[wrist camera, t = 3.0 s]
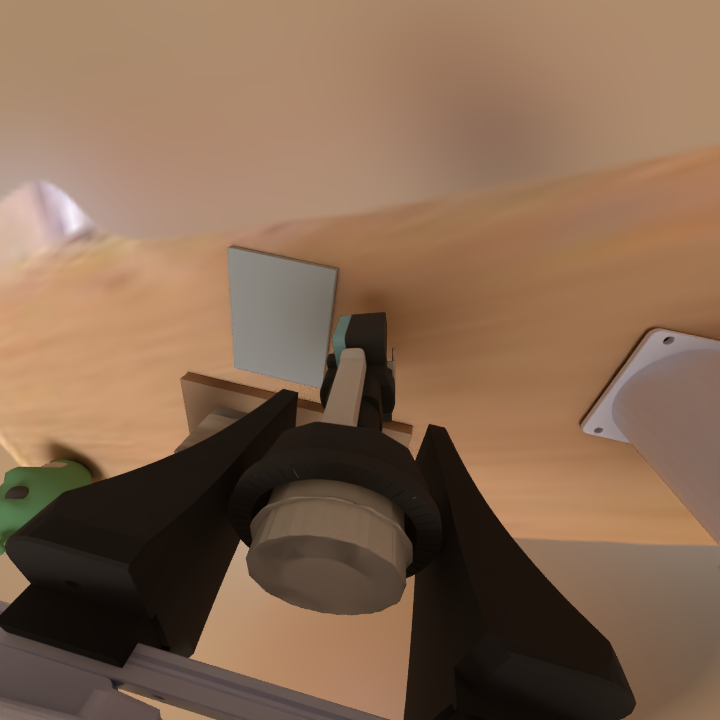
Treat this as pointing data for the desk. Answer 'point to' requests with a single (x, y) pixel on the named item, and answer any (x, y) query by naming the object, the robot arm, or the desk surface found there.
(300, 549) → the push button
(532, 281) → the desk surface
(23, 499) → the alien toy
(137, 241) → the desk surface
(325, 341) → the pad
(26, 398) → the desk surface
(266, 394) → the bracket
